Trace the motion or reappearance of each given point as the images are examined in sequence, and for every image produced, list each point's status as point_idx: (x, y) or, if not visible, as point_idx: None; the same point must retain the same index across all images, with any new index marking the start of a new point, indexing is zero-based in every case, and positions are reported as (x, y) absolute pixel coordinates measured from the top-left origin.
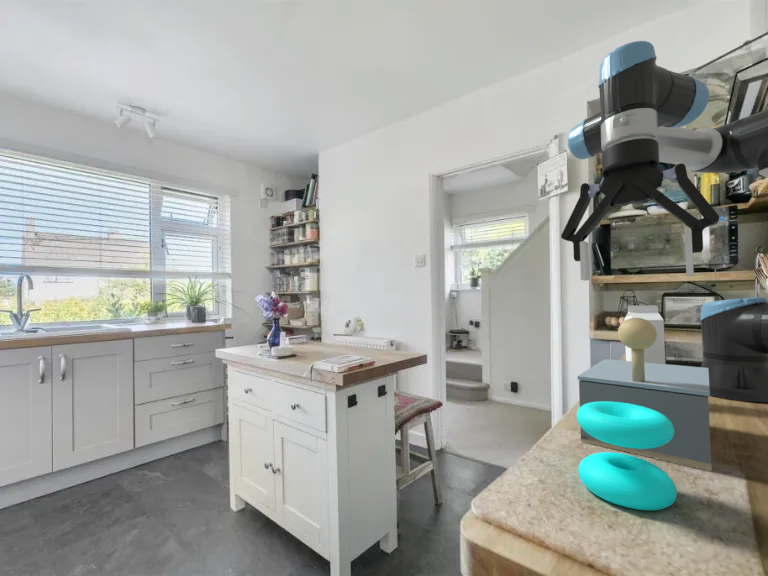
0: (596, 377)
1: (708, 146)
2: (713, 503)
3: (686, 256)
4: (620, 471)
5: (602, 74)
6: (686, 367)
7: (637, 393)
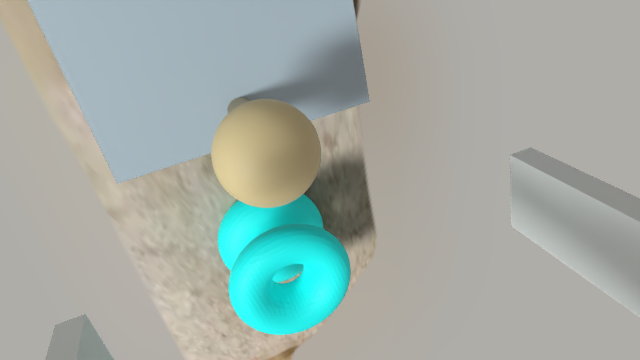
0: (157, 157)
1: None
2: (338, 169)
3: (578, 269)
4: (285, 271)
5: None
6: None
7: None
